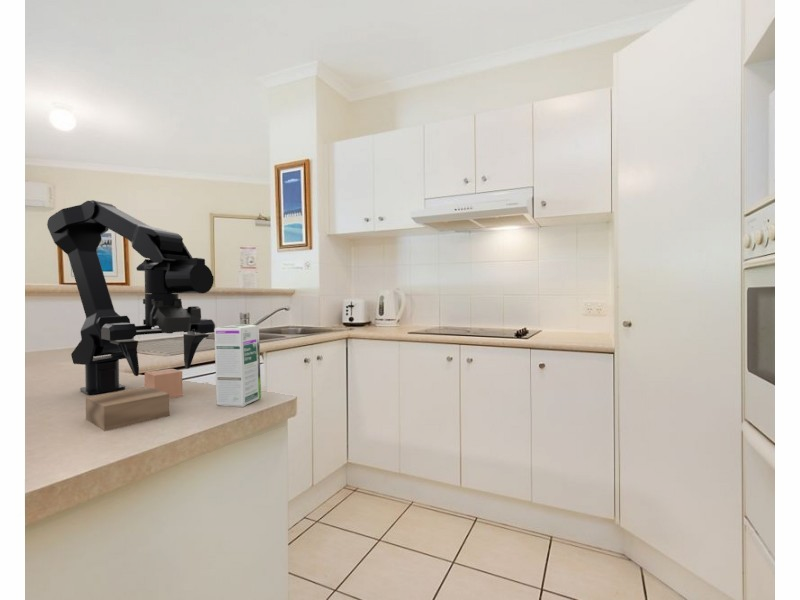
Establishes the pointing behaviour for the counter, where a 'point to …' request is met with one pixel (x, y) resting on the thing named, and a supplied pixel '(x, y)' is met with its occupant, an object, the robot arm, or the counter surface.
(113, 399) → the walnut block
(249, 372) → the syrup box
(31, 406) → the counter surface
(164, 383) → the terracotta cube
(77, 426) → the counter surface
